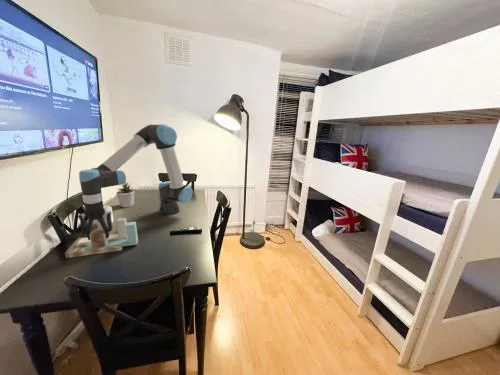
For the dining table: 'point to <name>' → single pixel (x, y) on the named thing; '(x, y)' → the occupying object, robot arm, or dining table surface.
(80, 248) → the board
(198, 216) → the dining table surface
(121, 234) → the strip grey
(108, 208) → the coffee cup
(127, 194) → the potted plant
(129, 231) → the strip teal
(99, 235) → the block
